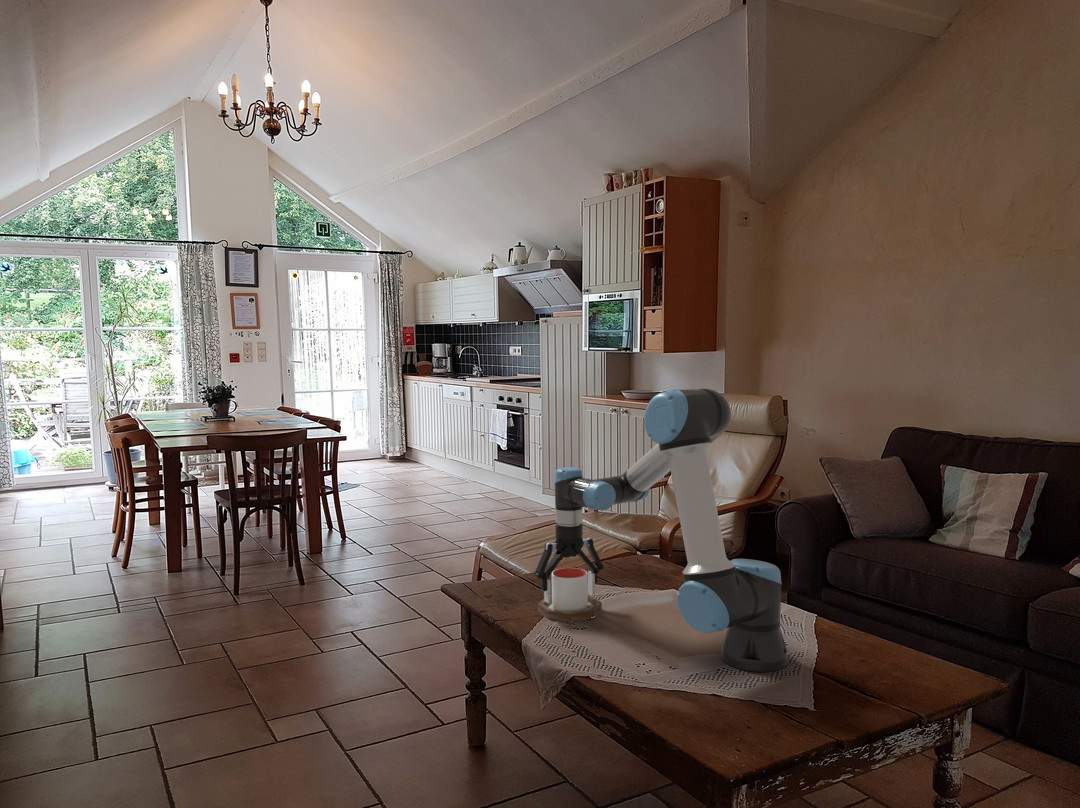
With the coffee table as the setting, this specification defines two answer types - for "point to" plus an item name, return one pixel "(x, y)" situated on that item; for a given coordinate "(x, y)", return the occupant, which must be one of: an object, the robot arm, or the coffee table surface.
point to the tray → (553, 614)
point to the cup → (569, 589)
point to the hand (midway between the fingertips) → (569, 598)
